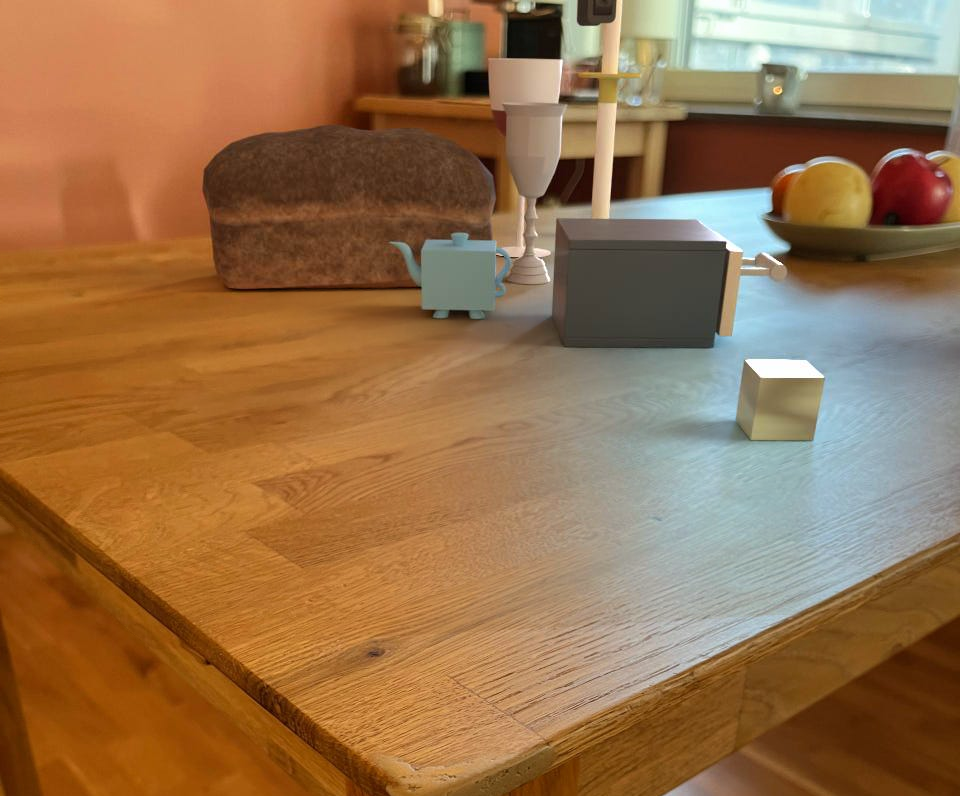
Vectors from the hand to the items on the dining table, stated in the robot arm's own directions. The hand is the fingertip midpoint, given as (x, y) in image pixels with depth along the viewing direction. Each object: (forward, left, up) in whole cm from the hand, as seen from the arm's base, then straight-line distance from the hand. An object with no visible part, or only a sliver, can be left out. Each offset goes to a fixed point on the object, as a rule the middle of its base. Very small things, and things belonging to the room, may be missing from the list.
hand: (594, 24), depth 87 cm
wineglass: (+3, -39, -25) cm, 47 cm away
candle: (-9, -52, -25) cm, 58 cm away
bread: (+23, -21, -25) cm, 40 cm away
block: (-11, +32, -25) cm, 42 cm away
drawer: (-9, +3, -24) cm, 26 cm away
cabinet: (-5, +3, -25) cm, 26 cm away
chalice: (+3, -21, -25) cm, 33 cm away
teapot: (+12, -4, -25) cm, 28 cm away
